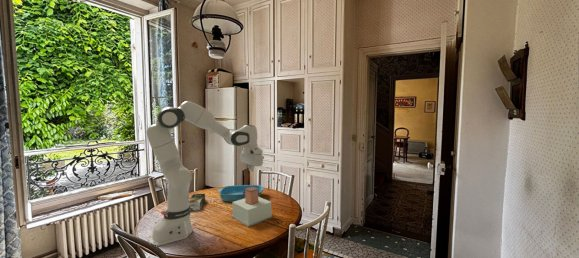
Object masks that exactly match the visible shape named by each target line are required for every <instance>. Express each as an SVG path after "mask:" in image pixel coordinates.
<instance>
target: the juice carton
mask: <svg viewBox="0 0 579 258" xmlns="http://www.w3.org/2000/svg"><path fill="white" fill-rule="evenodd" d="M205 201H206V193H197V194H196V193H195V194H194V193H193V194H192V195H191V197H189V206H190V212H191V211H192V210H195V211H200V210H201V209H203V205H204V203H205ZM192 212H193V211H192Z"/></svg>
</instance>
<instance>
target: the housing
mask: <svg viewBox="0 0 579 258" xmlns="http://www.w3.org/2000/svg"><path fill="white" fill-rule="evenodd" d="M231 203H232V215H231V218H233V219H235V220H236V221H237V222H239V223H241V224H243V225H244V226H246V227H251V226H253V225H256V224H259V223H261V222H263V221H266V220H269V219H271V218H273V215H272V213H273V210H272V201H270V200H268V199H266V198H263V197H261V196H260V197H258V203H255V204H252V205H249V204H247V203H245V198H244V199H241V200H238V201H231Z"/></svg>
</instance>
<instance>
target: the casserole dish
mask: <svg viewBox="0 0 579 258" xmlns="http://www.w3.org/2000/svg"><path fill="white" fill-rule="evenodd" d="M250 187H255V188H258V190H259V197H261V195H262V192H264V191H265V187H264V186H262V185H260V184H243V185H242V184H241V185H239V184H238V185H227V186H224V187H222V188H219V189H218V191H217V192H218V193H219V196H220V198H221V200H222V201H224V202H234V201H238V200H241V199H243V192H244V191H245V189H246V188H250Z"/></svg>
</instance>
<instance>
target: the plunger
mask: <svg viewBox="0 0 579 258" xmlns="http://www.w3.org/2000/svg"><path fill="white" fill-rule="evenodd" d="M245 203H247V204H249V205H252V204H255V203H258V188H255V187H250V188H246V189H245Z"/></svg>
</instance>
